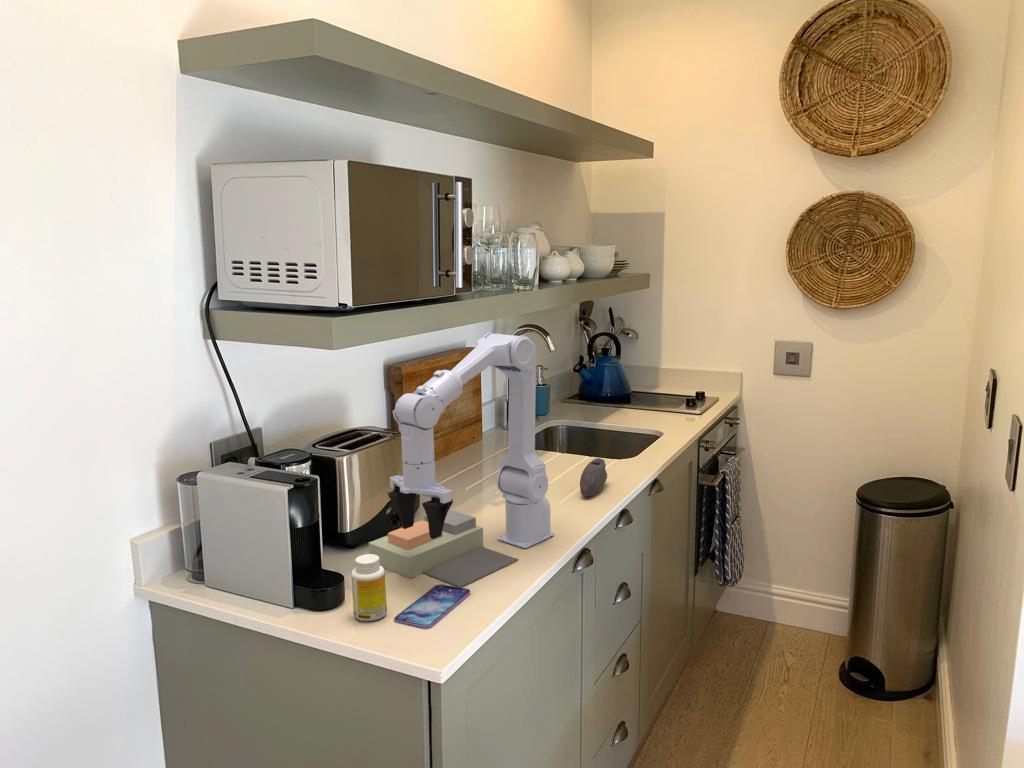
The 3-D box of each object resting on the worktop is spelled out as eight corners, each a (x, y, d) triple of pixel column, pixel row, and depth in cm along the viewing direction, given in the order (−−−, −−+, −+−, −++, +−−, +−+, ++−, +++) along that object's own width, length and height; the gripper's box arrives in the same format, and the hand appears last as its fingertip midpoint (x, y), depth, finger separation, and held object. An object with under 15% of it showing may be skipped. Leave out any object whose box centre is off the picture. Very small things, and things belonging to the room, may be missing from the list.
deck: (443, 532, 172) (442, 514, 171) (483, 546, 164) (482, 527, 163) (369, 561, 157) (368, 542, 156) (409, 578, 149) (408, 558, 149)
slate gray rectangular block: (424, 525, 165) (424, 515, 165) (445, 517, 170) (445, 508, 169) (455, 535, 159) (454, 525, 159) (475, 526, 164) (475, 517, 163)
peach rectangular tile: (422, 529, 163) (422, 520, 163) (442, 536, 159) (442, 526, 159) (388, 542, 156) (387, 532, 156) (408, 550, 152) (407, 540, 152)
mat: (481, 548, 163) (481, 546, 163) (518, 560, 156) (518, 559, 156) (423, 573, 151) (423, 572, 151) (460, 588, 145) (460, 586, 145)
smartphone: (391, 619, 133) (437, 583, 146) (391, 624, 133) (437, 588, 146) (428, 626, 129) (472, 589, 143) (429, 632, 130) (473, 594, 143)
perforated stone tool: (593, 502, 189) (593, 474, 188) (572, 500, 191) (571, 472, 190) (610, 484, 203) (610, 458, 201) (591, 482, 205) (590, 456, 203)
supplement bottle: (393, 615, 135) (390, 558, 133) (364, 626, 131) (361, 568, 129) (375, 604, 139) (372, 549, 137) (347, 614, 135) (344, 558, 134)
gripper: (375, 458, 144) (379, 529, 147) (429, 472, 135) (432, 548, 137) (404, 449, 149) (408, 518, 152) (459, 463, 140) (461, 536, 142)
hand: (421, 532), depth 145 cm, fingers open, 7 cm apart
